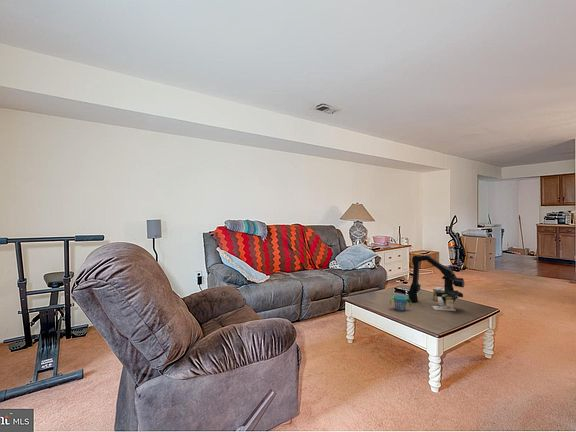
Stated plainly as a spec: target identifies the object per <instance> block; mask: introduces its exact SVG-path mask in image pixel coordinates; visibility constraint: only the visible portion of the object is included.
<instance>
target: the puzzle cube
mask: <svg viewBox="0 0 576 432" xmlns="http://www.w3.org/2000/svg"><path fill="white" fill-rule="evenodd" d="M435 291H441V292H444V287H441V286H436V287H434V288H433V292H432V293H433V295H432V297H433V298H432V299H433V301H435V302H438V297H440V296H436V295H435ZM445 297H446V298H451V297H449V296H448V295H445Z"/></svg>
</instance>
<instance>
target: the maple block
mask: <svg viewBox="0 0 576 432" xmlns="http://www.w3.org/2000/svg"><path fill="white" fill-rule="evenodd" d="M445 302H446V304H444V303H443V304H444V305H443V306H444V307H453V308H454V304H453V299H452V297H450V298H445Z"/></svg>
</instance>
